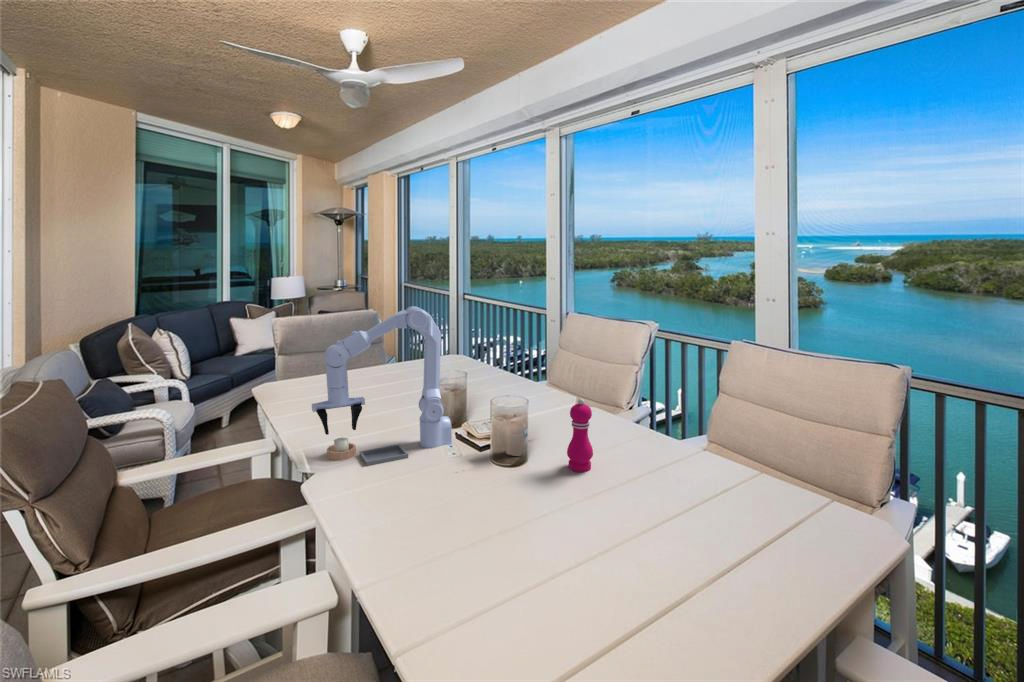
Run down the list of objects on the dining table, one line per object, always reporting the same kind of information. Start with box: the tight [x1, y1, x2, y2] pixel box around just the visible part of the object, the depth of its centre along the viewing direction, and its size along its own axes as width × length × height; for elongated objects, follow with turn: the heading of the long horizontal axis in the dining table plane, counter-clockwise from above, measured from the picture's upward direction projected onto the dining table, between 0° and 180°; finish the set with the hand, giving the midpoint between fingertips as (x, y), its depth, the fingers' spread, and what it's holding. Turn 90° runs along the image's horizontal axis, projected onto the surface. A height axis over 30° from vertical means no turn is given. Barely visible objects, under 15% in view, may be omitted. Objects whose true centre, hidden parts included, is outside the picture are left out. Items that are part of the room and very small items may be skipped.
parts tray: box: [358, 443, 409, 467], centre depth 143 cm, size 12×9×2 cm
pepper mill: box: [566, 398, 594, 473], centre depth 135 cm, size 7×7×20 cm
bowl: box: [326, 442, 357, 461], centre depth 144 cm, size 8×8×3 cm
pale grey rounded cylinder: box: [333, 437, 350, 452], centre depth 144 cm, size 4×4×5 cm
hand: (340, 431), depth 143 cm, fingers open, 7 cm apart
